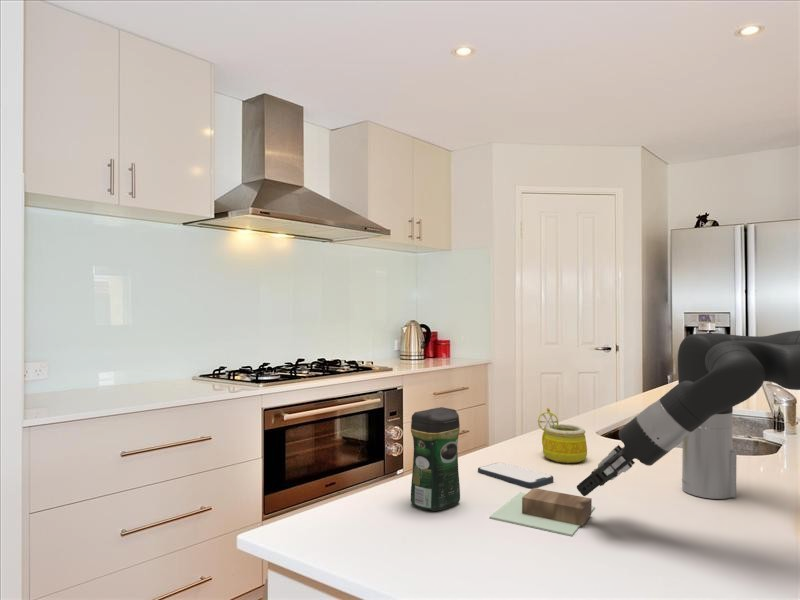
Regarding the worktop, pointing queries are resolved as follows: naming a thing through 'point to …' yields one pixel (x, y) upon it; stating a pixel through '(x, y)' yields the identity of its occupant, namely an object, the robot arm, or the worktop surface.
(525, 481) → the smartphone
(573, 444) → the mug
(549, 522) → the mat
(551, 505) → the walnut block
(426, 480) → the coffee jar
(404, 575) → the worktop surface
